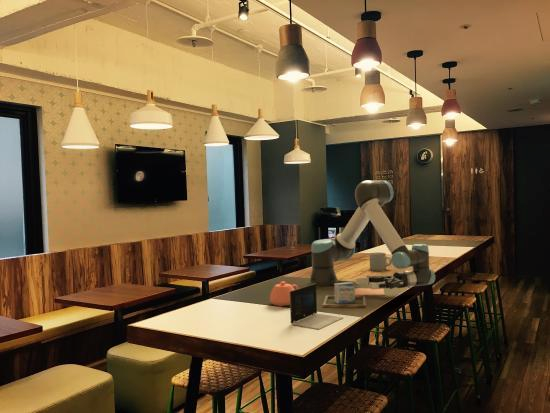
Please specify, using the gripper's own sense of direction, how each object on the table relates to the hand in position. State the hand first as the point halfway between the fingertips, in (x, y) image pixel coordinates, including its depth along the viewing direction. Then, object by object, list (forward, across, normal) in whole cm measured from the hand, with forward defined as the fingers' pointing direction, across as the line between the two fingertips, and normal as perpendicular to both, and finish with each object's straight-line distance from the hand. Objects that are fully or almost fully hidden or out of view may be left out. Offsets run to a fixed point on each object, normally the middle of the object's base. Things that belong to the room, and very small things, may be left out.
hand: (363, 283), depth 206 cm
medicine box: (+10, 0, -8) cm, 12 cm away
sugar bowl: (+34, +10, -7) cm, 36 cm away
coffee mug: (-50, +66, -7) cm, 83 cm away
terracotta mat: (-10, +13, -7) cm, 18 cm away
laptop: (+33, -22, -8) cm, 41 cm away
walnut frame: (+10, 0, -7) cm, 12 cm away
